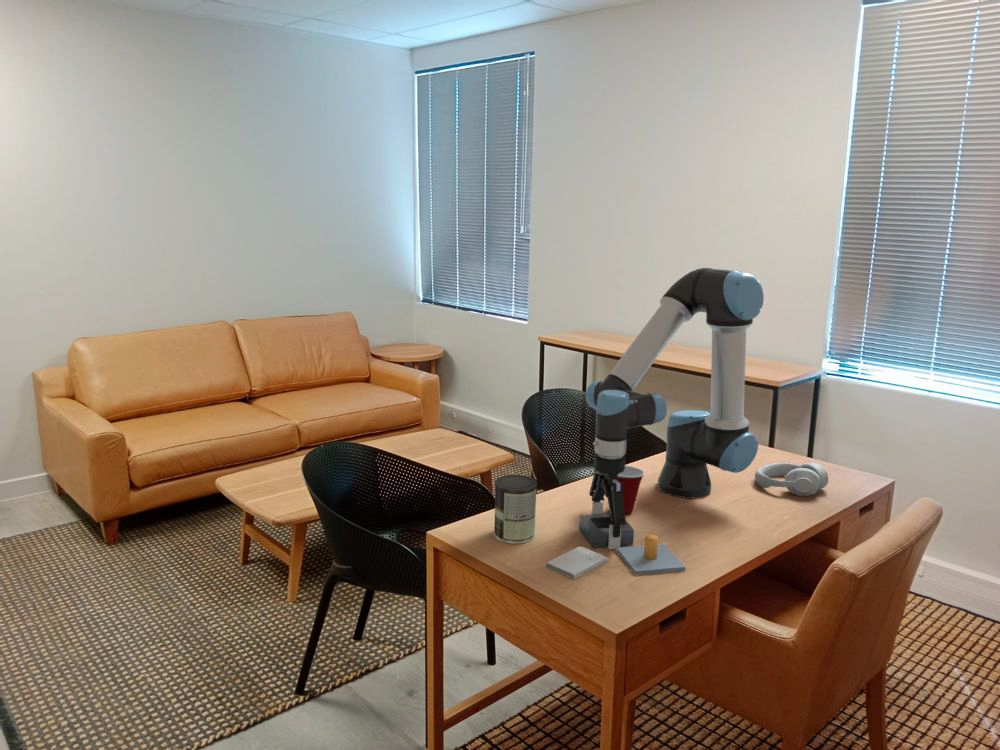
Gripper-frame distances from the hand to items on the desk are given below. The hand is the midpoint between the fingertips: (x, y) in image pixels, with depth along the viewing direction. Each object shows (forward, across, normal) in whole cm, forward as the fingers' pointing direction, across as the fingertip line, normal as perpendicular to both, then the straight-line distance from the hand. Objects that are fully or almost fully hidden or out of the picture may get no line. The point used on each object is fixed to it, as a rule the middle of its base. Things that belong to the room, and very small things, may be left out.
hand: (605, 536), depth 194 cm
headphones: (0, -25, +66) cm, 71 cm away
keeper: (0, +14, +6) cm, 15 cm away
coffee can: (+1, -5, -22) cm, 22 cm away
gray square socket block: (0, 0, 0) cm, 0 cm away
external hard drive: (+1, +12, -11) cm, 17 cm away
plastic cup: (0, -15, +10) cm, 18 cm away
